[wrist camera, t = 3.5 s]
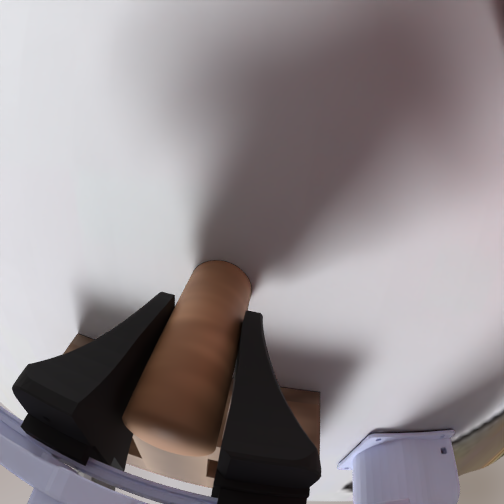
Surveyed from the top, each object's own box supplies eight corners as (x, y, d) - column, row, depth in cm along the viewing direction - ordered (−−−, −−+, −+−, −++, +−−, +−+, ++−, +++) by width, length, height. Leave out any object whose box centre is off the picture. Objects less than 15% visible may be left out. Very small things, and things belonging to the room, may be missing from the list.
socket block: (321, 389, 18) (321, 458, 13) (284, 449, 23) (279, 498, 19) (76, 330, 18) (41, 381, 14) (104, 404, 24) (84, 446, 19)
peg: (255, 267, 14) (218, 428, 7) (246, 316, 15) (213, 463, 8) (191, 254, 14) (113, 397, 7) (189, 304, 16) (131, 439, 9)
